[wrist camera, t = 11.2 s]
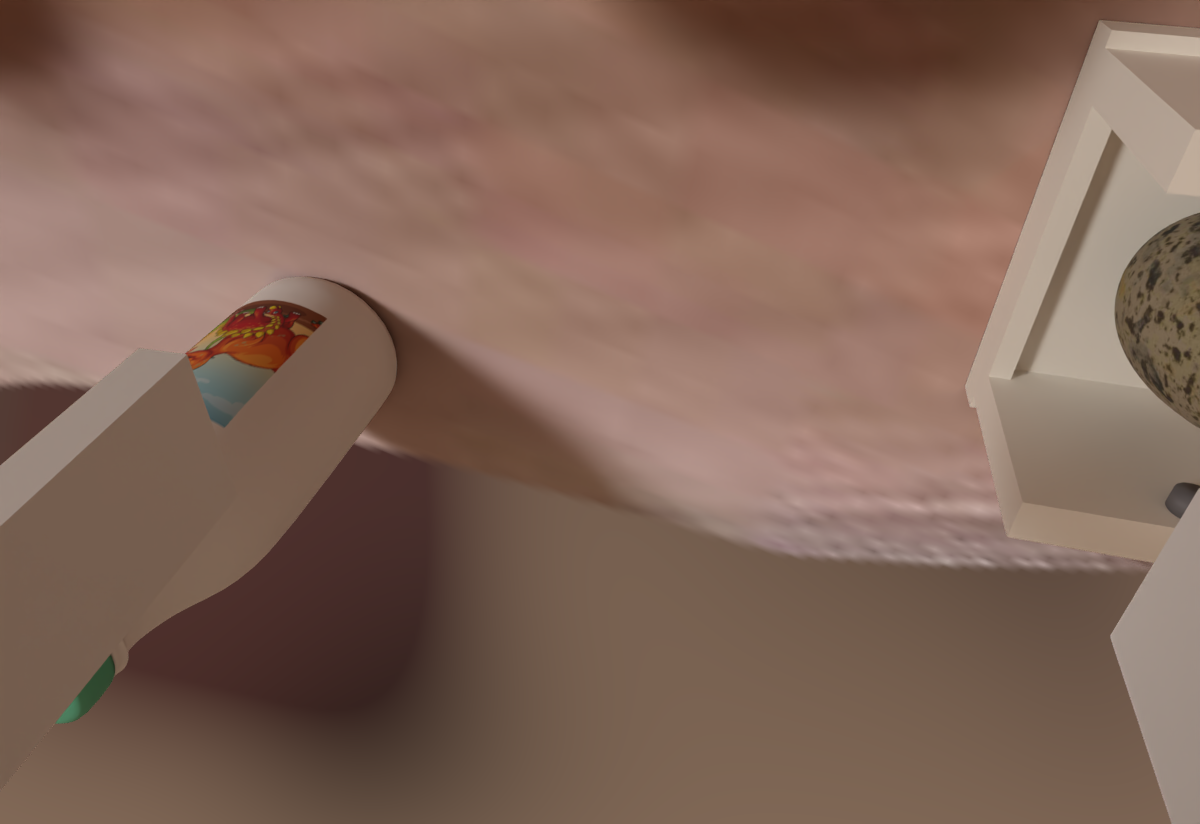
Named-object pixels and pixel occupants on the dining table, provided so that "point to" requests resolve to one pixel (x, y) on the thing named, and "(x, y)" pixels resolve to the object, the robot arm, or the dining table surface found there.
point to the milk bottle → (271, 430)
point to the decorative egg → (1165, 316)
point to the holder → (1094, 310)
